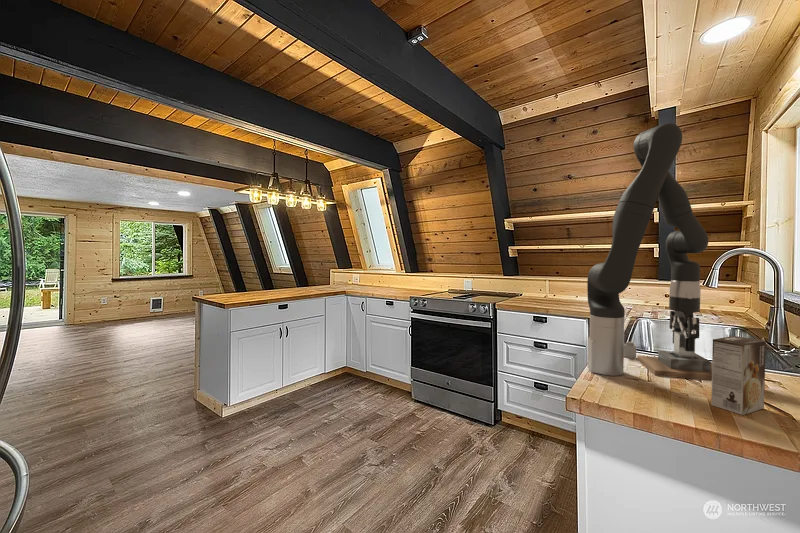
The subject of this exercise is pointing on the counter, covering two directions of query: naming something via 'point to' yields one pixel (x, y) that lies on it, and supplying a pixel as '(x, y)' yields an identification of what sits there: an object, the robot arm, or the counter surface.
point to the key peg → (681, 347)
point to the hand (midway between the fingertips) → (682, 347)
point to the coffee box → (738, 374)
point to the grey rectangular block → (629, 350)
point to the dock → (671, 372)
